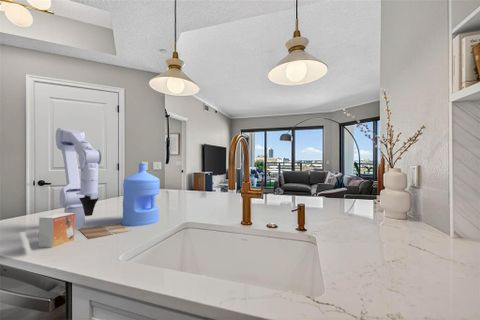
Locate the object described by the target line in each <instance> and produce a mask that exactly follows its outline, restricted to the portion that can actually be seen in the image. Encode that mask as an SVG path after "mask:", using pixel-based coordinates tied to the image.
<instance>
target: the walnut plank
mask: <svg viewBox="0 0 480 320" xmlns="http://www.w3.org/2000/svg"><path fill="white" fill-rule="evenodd" d="M77 230H78V231H79V232H81V233H82V234H83V235H84V236H85V237H86V238H87V239H88V240H93V239H96V238H102V237H107V236H113V235H114V233H113V232H111V231H110V230H108V229H106V228H105V227H103V226H102V225H96V226H95V225H94V226H88V227H83V228H77Z"/></svg>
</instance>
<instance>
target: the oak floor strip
mask: <svg viewBox="0 0 480 320" xmlns="http://www.w3.org/2000/svg"><path fill="white" fill-rule="evenodd" d="M101 226H102V227H103V228H105V229H106V230H108V231H110V232H111V233H113V235H116V234H122V233H128V232H131V231H132V230H131V229H129V228H128V227H125V225H123V224H119V223H118V222H115V223H110V224H109V223H108V224H104V225H101Z"/></svg>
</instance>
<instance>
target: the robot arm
mask: <svg viewBox="0 0 480 320" xmlns="http://www.w3.org/2000/svg"><path fill="white" fill-rule="evenodd" d="M55 143H56V144H55V145H56V148H57V149H58V150H60V151H61V154H62V157H63V166H64V173H65V179H66V180H65V181H66V185H65V186H63V187H62V188H61V189H60V191H59V204H60V206H61V207H62V208H64V210H63V212H64V213H75V226H74V228H76V227H81V226H84V225H85V223H86V217H90V216H91V217H92V216H93V215H94V210H95V206H96V204H97V202H98V201H99V196H98V195H99V165H100V164H101V162H102V152H101V151H100V149H95V148H94V147H93V146H92V145H91V144H90V142H89V141H88V140H86V133H85V132H84V129H83V130H81V129H80V130H79V129H70V128H63V127H58V128H56V131H55ZM77 155H78V157H77ZM77 158H78V159H77ZM78 163H79V166H78ZM79 169H80V172H79Z"/></svg>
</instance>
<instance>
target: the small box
mask: <svg viewBox="0 0 480 320" xmlns="http://www.w3.org/2000/svg"><path fill="white" fill-rule="evenodd" d="M38 218H39V219H38V220H39V221H38V243H37V244H38V247H41V248H49V249H50V248H54V247H58V246H61V245H64V244H66V243H69V242H71V241H75V227H74V226H75V213H64V211H63V212H59V213H54V214H50V215H45V216H40V217H38Z"/></svg>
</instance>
